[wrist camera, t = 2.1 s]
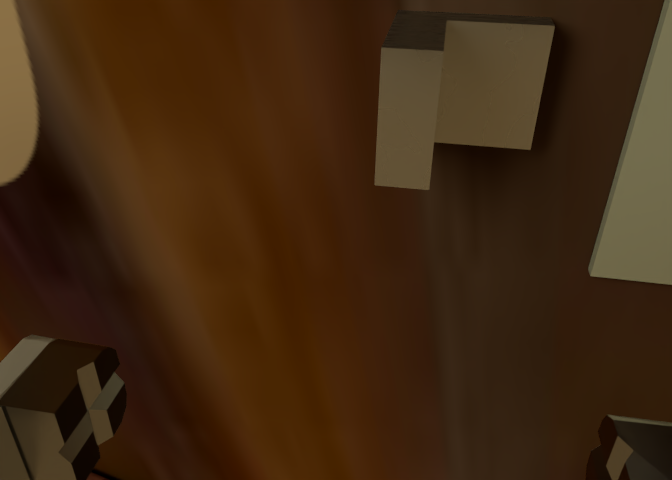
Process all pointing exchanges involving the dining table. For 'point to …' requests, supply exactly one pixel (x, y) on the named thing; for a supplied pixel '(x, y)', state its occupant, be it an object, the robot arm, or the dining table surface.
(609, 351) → the dining table surface
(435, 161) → the dining table surface
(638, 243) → the arena pad
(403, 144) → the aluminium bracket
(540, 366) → the dining table surface
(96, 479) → the teapot
